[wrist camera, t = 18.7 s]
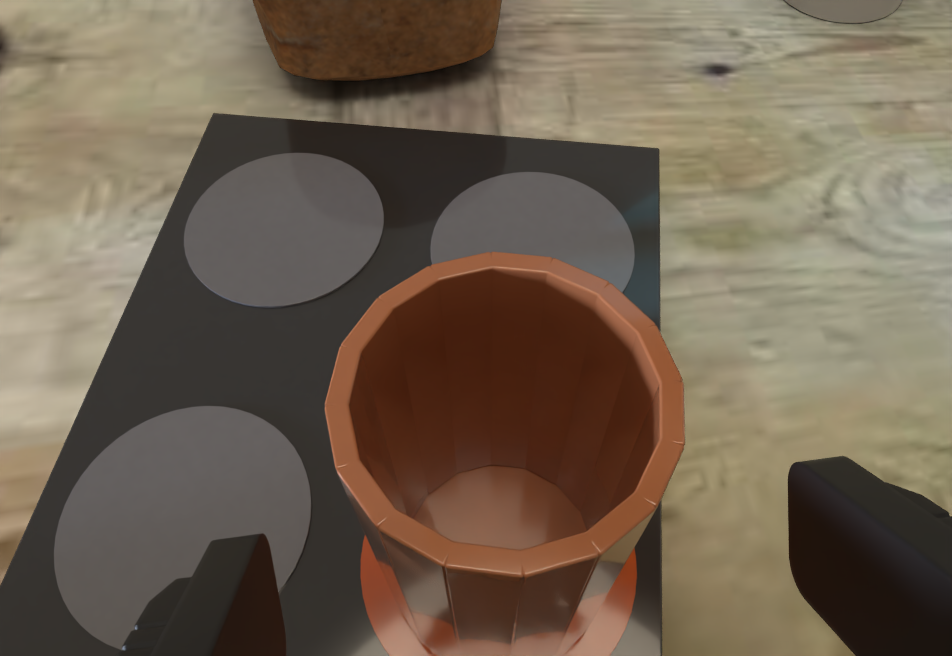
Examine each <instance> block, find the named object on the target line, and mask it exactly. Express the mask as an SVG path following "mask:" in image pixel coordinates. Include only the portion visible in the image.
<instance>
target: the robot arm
mask: <svg viewBox="0 0 952 656" xmlns="http://www.w3.org/2000/svg"><path fill="white" fill-rule="evenodd" d="M788 521H789V560H790V566H791V571H792V574H793V578H794V580H795V583H796V585H797V587H798V589H799V591H800V593H801V595H802V596H803V597H804V599H805V600H806V601H807V602H808V603H809V604H810V605H811V607H812V608H813V609H814V610H815V611H816V612H817V613H818V614H819V615H820V617H821V618H822V619H823V620H824V621H825V622H826V623H827V624H828V625H829V627H830V628H831V629H832V630H833V631H834V632H835V633H836V634H837V635H838V636H839V638H840V639H841V640H842V641H843V642H844V643H845V644H846V645H847V646H848V648H849V649H850V650H851V651H852V652H853V653H854V654H855V655H856V656H952V516H951V517H950V516H949V512H947V511H945V510H944V509H942V508H941V507H939V506H938V505H936V504H935V503H933V502H932V501H930V500H929V499H927V498H926V497H924V496H922V495H920V494H917V493H914V492H912V491H909V490H906V489H903V488H901V487H898V486H895V485H892V484H889V483H887V482H883V481H882V480H880V479H879V478H877V477H876V476H875V475H873V474H872V473H870V472H869V471H867V470H866V469H864V468H863V467H861V466H860V465H858V464H857V463H855V462H854V461H852V460H851V459H849V458H847V457H845V456H839V457H832V458H824V459H817V460H810V461H802V462H796V463H794V464H793V465H792V466H791V468H790V470H789V475H788ZM134 627H135V629H134V630H133V631H131V632H130V634H129V636H128V637H127V639H126V641H125V642H124V644H123V646H122V651H119V652H118V654H117V656H286V634H285V626H284V620H283V615H282V609H281V604H280V598H279V593H278V587H277V582H276V577H275V571H274V566H273V560H272V555H271V550H270V545H269V542H268V539H267V537H266V535H265V534H263V533H261V534H254V535H247V536H239V537H232V538H224V539H217V540H212V541H211V542H210V544H209V545H208V547H207V549H206V551H205V553H204V555H203V557H202V559H201V560H200V562H199V564H198V566H197V568H196V570H195V572H194V574H193V575H192V577H187V578H180V579H175V580H174V581H173V582H172V583H171V584H169V585H168V586H167V587H166V588H165V589H163V590H162V591H161V592H160V593H159V594H157V595H156V596H155V597H154V598H153V599H151V600H150V601H149V602H148V604H147V606H146V607H145V609H144V611H143V612H142V614H141V616H140V617H139V619H138V621H137V622H136V624H135V626H134Z"/></svg>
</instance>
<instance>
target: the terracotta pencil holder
mask: <svg viewBox="0 0 952 656" xmlns="http://www.w3.org/2000/svg"><path fill="white" fill-rule="evenodd" d="M324 410H325V415H326V421H327V426H328V432H329V437H330V443H331V448H332V454H333V459H334V465H335V469H336V471H337V474H338V476H339V478H340V480H341V483H342V485H343V487H344V489H345V491H346V494H347V496H348V498H349V500H350V502H351V505H352V507H353V509H354V511H355V513H356V516H357V518H358V520H359V522H360V524H361V527H362V529H363V531H364V533H365V535H366V538H367V540H368V542H369V544H370V546H371V549H372V551H373V553H374V555H375V558H376V560H377V562H378V564H379V566H380V569H381V571H382V573H383V575H384V577H385V580H386V582H387V584H388V586H389V588H390V591H391V593H392V595H393V597H394V599H395V602H396V604H397V606H398V608H399V609H400V611H401V612H402V614H403V615H404V616H405V618H406V620H407V622H408V623H409V625H410V627H411V628H412V630H413V631H414V632H415V633H416V635H417V636H418V637H419V638H420V640H421V641H422V642H423V643H424V644H425V645H427V646H428V647H429V648H430V649H431V650H432V651H433V652H435V653H436V654H437V655H439V656H560V655H561V654H562V653H564V652H565V651H566V650H568V649H569V648H570V647H571V646H572V645H573V644H574V643H575V642H576V641H577V640H578V639H579V637H580V636H581V635H582V634H583V633H585V632H586V630H587V629H588V628H589V626H590V624H591V622H592V621H593V619H594V617H595V615H596V614H597V612H598V610H599V608H600V607H601V605H602V603H603V601H604V600H605V598H606V596H607V594H608V593H609V591H610V589H611V587H612V586H613V584H614V582H615V580H616V579H617V577H618V575H619V573H620V572H621V570H622V568H623V566H624V565H625V563H626V561H627V559H628V558H629V556H630V554H631V552H632V551H633V549H634V547H635V545H636V544H637V542H638V540H639V538H640V537H641V535H642V533H643V531H644V530H645V528H646V526H647V524H648V523H649V521H650V519H651V517H652V516H653V514H654V512H655V510H656V509H657V507H658V505H659V503H660V501H661V498H662V496H663V494H664V492H665V490H666V487H667V485H668V483H669V481H670V479H671V476H672V474H673V472H674V470H675V468H676V465H677V463H678V461H679V459H680V457H681V454H682V452H683V450H684V445H685V419H684V384H683V382H682V377H681V375H680V373H679V371H678V369H677V367H676V365H675V363H674V361H673V359H672V357H671V354H670V352H669V350H668V348H667V346H666V344H665V342H664V340H663V338H662V336H661V334H660V331H659V329H658V327H657V326H655V323H654V322H653V321H652V320H651V319H650V318H649V317H648V316H647V315H645V314H644V313H643V312H642V311H641V310H640V309H639V308H638V307H637V306H636V305H635V304H634V303H632V302H631V301H630V300H629V299H628V298H627V297H626V296H625V295H624V294H623V293H622V292H621V291H620V290H618V289H617V288H616V287H615V286H614V285H613V284H612V283H609V281H607V280H605V279H602V278H600V277H598V276H595V275H593V274H591V273H588V272H586V271H584V270H581V269H579V268H577V267H574V266H572V265H570V264H568V263H565V262H563V261H561V260H558V259H556V258H553V259H552V257H546V256H535V255H524V254H514V253H503V252H491V253H490V252H486V253H481V254H477V255H472V256H468V257H463V258H459V259H454V260H450V261H445V262H441V263H436V264H432V265H431V266H427V267H426V268H424V269H423V270H421V271H419V272H418V273H416V274H414V275H413V276H411V277H409V278H408V279H406V280H405V281H403V282H401V283H400V284H398V285H396V286H395V287H393V288H392V289H390V290H388V291H387V292H385V293H383V294H382V295H380V296H379V297H378V298H377V299H376V300H375V301H374V302H373V304H372V305H371V306H370V307H369V309H368V310H367V311H366V313H365V314H364V315H363V317H362V318H361V319H360V320H359V322H358V323H357V324H356V326H355V327H354V328H353V329H352V331H351V332H350V333H349V335H348V336H347V337H346V338H345V340H344V341H343V342H342V344H341V346H340V348H339V351H338V354H337V358H336V362H335V366H334V370H333V374H332V377H331V381H330V385H329V389H328V393H327V397H326V400H325V409H324Z"/></svg>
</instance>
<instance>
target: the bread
mask: <svg viewBox="0 0 952 656" xmlns="http://www.w3.org/2000/svg"><path fill="white" fill-rule="evenodd" d="M501 1H502V0H253V3H254V6H255V9H256V12H257V15H258V18H259V20H260V23H261V26H262V29H263V32H264V35H265V37H266V40H267V42H268V44H269V46H270V48H271V50H272V52H273V54H274V57H275V59H276V61H277V63H278V65H279V67H280V68H282V69H284V70H286V71H288V72H289V73H291V74H293V75H295V76H301V77H307V78H311V79H317V80H338V81H358V80H370V79H381V78H392V77H399V76H405V75H411V74H417V73H423V72H429V71H434V70H438V69H441V68H445V67H449V66H453V65H457V64H461V63H463V62H466V61H469V60H471V59H474V58H476V57H479V56H482V55H483V54H484V53H486V52H487V51H488V50H490V49H491V48H493V45H494V41H495V37H496V33H497V28H498V22H499V15H500V8H501Z"/></svg>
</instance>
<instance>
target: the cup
mask: <svg viewBox="0 0 952 656" xmlns="http://www.w3.org/2000/svg"><path fill="white" fill-rule="evenodd" d="M785 1H786V2H787V3H788V4H790V5H791V6H793V7H794V8H796V9H798V10H800V11H802V12H804V13H806V14H808V15H811V16H814V17H817V18H820V19H824V20H828V21H833V22H841V23H864V22H870V21H875V20H878V19H881V18H884V17H886V16H888V15H890V14H891V13H893V12H894V11H895V10H896V9H897V8H898V7H899V6H900V4H901V2H902V1H903V0H785Z"/></svg>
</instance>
